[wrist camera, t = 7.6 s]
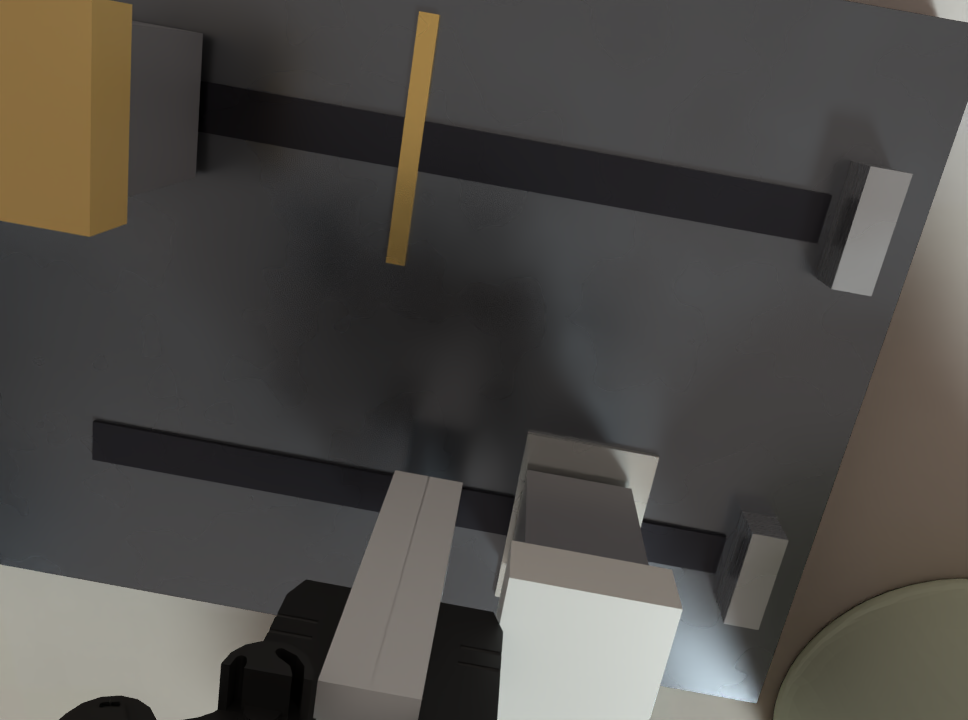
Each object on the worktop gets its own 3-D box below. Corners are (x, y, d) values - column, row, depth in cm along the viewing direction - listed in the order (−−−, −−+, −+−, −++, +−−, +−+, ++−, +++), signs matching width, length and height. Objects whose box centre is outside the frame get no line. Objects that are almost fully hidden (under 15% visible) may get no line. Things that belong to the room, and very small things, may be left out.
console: (-49, 506, 23) (-132, 567, 20) (-84, -153, 17) (-205, -197, 15) (738, 651, 23) (766, 732, 20) (943, 33, 17) (1023, 24, 14)
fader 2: (491, 582, 20) (476, 733, 15) (516, 455, 19) (509, 577, 14) (614, 604, 20) (637, 762, 15) (647, 479, 19) (683, 609, 14)
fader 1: (67, 168, 17) (-104, 202, 13) (66, -8, 16) (-121, -42, 11) (209, 194, 17) (89, 237, 13) (219, 19, 16) (91, -3, 11)
